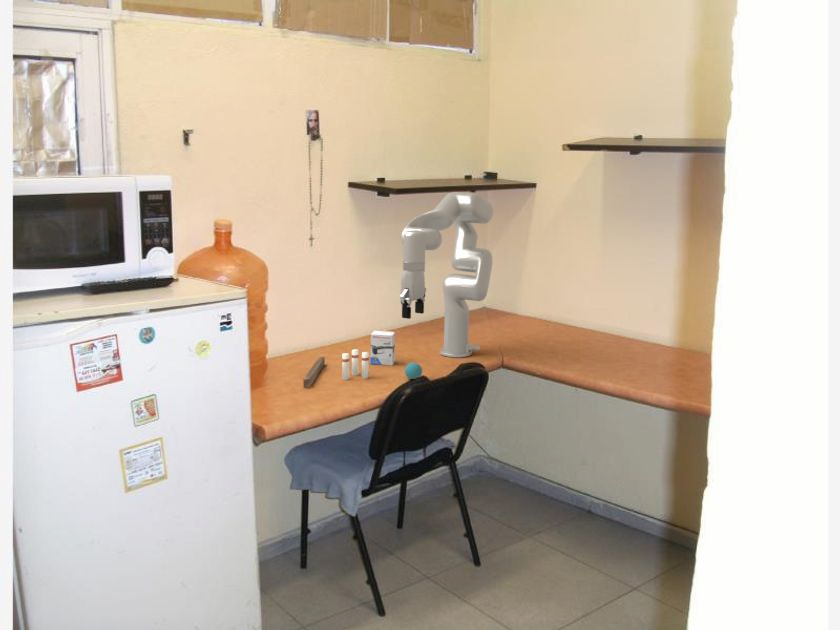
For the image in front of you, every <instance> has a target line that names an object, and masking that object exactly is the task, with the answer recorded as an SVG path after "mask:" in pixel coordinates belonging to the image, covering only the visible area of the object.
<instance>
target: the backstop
mask: <svg viewBox="0 0 840 630" xmlns="http://www.w3.org/2000/svg"><path fill="white" fill-rule="evenodd" d="M325 360H326V359H325V356H318V358H317V359H316V361H314V363H313V365H312V366H311V367H310V369H309V370H308V372H307V374H306V375H305V376H304V378H302V379H303V381H302V382H303V389H306V388H307V389H309V388H311V386H312V384H313V383H314V382H315V380H316V379H317V377H318V376H319V374H320V373H321V371H322V369H323V368H324V366H325V363H326V361H325ZM317 375H318V376H317Z"/></svg>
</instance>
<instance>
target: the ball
mask: <svg viewBox="0 0 840 630" xmlns="http://www.w3.org/2000/svg"><path fill="white" fill-rule="evenodd" d="M422 373H423V369H422V366H421V365H420V364H419V363H416V362H410V363H408V364H407V365H406V367H405V369H404V374H405V376H406V378H407V379H409V380H411V379H414V378H417V377H419V378H421V376H422V375H423V374H422Z"/></svg>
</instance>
